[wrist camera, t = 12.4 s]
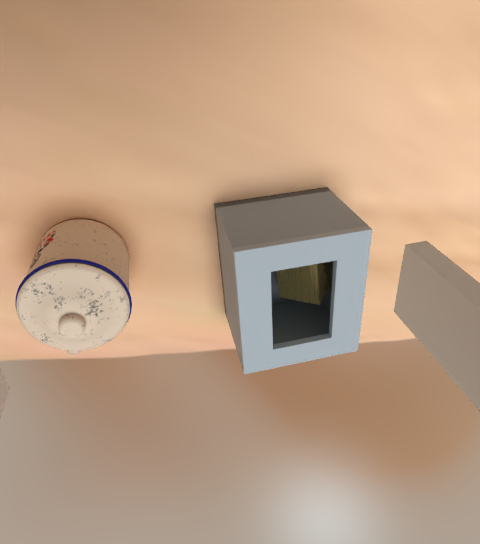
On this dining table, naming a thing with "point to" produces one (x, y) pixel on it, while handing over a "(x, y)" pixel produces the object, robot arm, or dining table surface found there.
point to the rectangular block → (305, 282)
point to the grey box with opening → (284, 255)
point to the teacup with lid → (76, 287)
